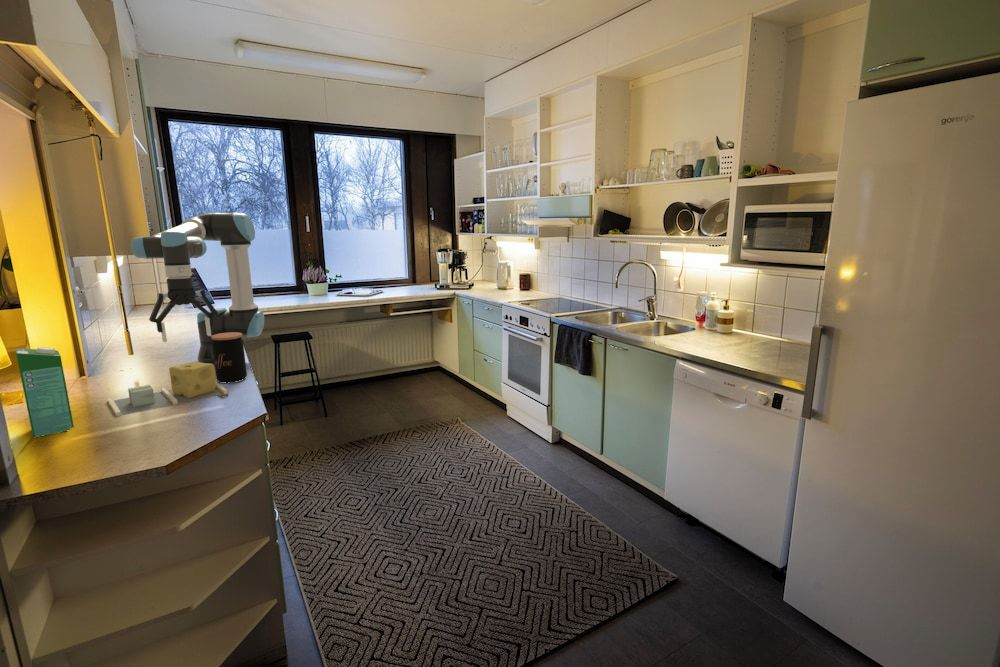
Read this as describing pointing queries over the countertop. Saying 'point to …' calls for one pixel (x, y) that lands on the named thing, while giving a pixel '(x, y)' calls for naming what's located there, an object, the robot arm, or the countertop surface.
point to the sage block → (141, 395)
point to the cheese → (193, 379)
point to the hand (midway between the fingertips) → (187, 338)
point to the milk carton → (44, 390)
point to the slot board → (161, 400)
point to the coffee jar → (229, 357)
